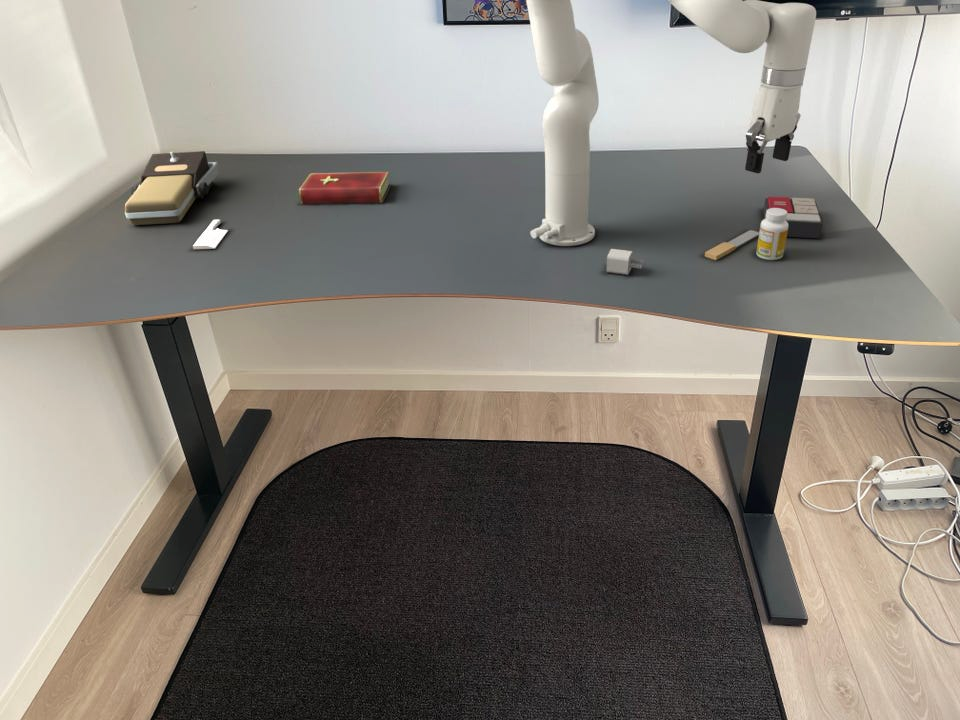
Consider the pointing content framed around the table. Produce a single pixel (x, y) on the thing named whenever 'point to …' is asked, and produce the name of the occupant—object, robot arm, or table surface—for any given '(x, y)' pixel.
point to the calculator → (798, 215)
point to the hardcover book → (344, 188)
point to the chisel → (730, 245)
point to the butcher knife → (210, 237)
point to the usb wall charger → (621, 262)
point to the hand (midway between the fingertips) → (766, 165)
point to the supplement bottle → (772, 234)
